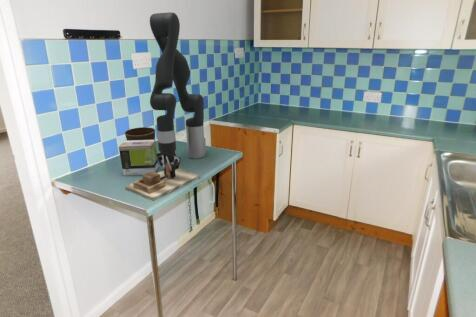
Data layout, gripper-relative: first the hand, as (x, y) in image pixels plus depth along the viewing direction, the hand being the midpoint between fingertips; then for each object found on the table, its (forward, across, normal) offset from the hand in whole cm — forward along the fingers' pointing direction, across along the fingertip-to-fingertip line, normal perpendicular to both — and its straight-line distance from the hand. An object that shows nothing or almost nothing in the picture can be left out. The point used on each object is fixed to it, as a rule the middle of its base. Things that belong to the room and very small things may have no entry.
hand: (170, 176), depth 143 cm
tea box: (+2, +19, +1) cm, 19 cm away
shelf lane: (+2, 0, +4) cm, 4 cm away
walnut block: (+1, 0, +5) cm, 6 cm away
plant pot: (+2, +30, -9) cm, 31 cm away
